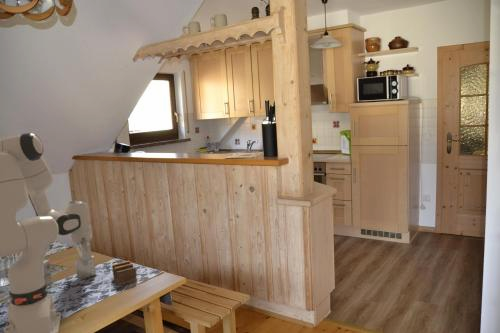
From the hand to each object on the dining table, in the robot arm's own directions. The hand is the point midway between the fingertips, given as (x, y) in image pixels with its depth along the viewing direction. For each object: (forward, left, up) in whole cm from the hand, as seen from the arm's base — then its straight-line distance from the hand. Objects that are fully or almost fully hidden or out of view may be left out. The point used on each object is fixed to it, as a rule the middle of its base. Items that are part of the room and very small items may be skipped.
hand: (85, 264), depth 189 cm
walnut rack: (-14, -14, -6) cm, 21 cm away
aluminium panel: (0, 0, -6) cm, 6 cm away
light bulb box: (+2, +20, -6) cm, 21 cm away
